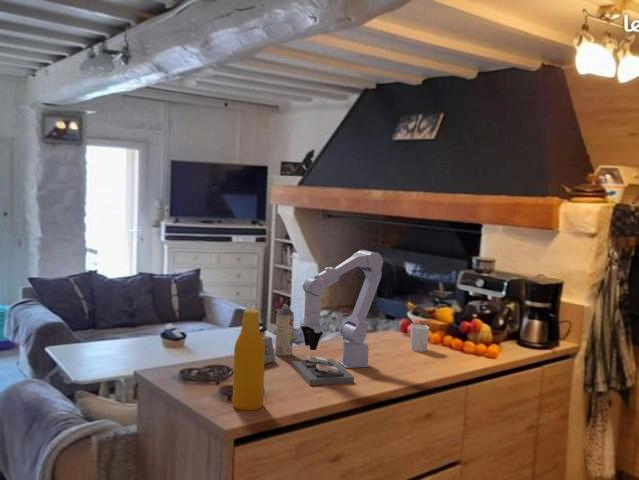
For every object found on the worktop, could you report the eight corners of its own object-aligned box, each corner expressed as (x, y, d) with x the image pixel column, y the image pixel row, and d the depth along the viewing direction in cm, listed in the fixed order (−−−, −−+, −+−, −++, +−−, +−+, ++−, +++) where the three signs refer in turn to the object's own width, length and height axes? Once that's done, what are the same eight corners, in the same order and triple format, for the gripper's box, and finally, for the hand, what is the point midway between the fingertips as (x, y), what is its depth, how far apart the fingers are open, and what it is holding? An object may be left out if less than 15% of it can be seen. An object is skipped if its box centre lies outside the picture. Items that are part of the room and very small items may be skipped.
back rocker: (323, 362, 222) (324, 357, 222) (327, 365, 218) (328, 360, 218) (306, 359, 219) (307, 354, 219) (309, 362, 215) (310, 357, 215)
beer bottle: (254, 413, 174) (257, 315, 172) (226, 407, 177) (229, 311, 175) (268, 403, 183) (272, 310, 180) (241, 398, 186) (244, 306, 184)
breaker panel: (332, 364, 227) (332, 354, 226) (353, 382, 206) (354, 372, 206) (291, 366, 222) (292, 356, 221) (309, 385, 201) (310, 374, 200)
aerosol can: (291, 357, 233) (293, 307, 232) (273, 356, 234) (276, 306, 232) (292, 352, 240) (295, 303, 239) (276, 351, 241) (278, 302, 239)
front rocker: (333, 371, 211) (334, 366, 211) (337, 374, 207) (338, 370, 207) (315, 368, 209) (316, 363, 209) (319, 371, 205) (320, 366, 205)
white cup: (429, 352, 250) (430, 329, 249) (410, 351, 250) (412, 328, 249) (426, 347, 258) (427, 325, 257) (408, 346, 258) (409, 324, 257)
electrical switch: (258, 366, 220) (257, 341, 220) (248, 364, 223) (247, 340, 223) (275, 361, 227) (274, 337, 227) (265, 359, 230) (265, 336, 230)
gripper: (296, 307, 222) (294, 342, 223) (307, 315, 208) (306, 353, 209) (314, 306, 224) (312, 342, 225) (326, 314, 210) (325, 352, 211)
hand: (310, 347), depth 217 cm, fingers open, 5 cm apart
